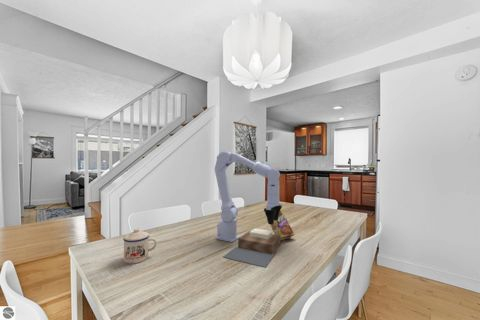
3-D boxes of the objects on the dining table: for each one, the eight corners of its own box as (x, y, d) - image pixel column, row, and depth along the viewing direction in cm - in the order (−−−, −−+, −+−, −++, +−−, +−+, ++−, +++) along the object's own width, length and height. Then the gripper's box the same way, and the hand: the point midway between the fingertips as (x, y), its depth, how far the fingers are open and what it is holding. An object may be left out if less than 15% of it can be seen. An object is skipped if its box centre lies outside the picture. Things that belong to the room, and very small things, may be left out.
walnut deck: (238, 247, 92) (238, 238, 92) (248, 238, 103) (249, 230, 103) (272, 254, 85) (272, 245, 85) (280, 244, 96) (280, 235, 96)
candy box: (282, 237, 97) (268, 209, 106) (277, 241, 100) (264, 213, 108) (295, 234, 102) (280, 207, 111) (290, 238, 104) (276, 211, 113)
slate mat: (223, 257, 82) (223, 256, 82) (235, 247, 92) (235, 246, 92) (265, 267, 74) (265, 266, 74) (274, 255, 84) (274, 254, 84)
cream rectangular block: (249, 236, 95) (249, 232, 95) (254, 232, 100) (254, 228, 100) (268, 239, 91) (268, 235, 91) (272, 235, 96) (272, 231, 96)
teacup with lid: (121, 266, 75) (121, 234, 75) (125, 255, 83) (125, 227, 83) (156, 260, 79) (156, 230, 79) (156, 251, 88) (157, 224, 88)
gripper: (277, 196, 90) (276, 227, 90) (285, 192, 103) (285, 219, 103) (262, 195, 93) (261, 225, 93) (272, 191, 106) (271, 217, 106)
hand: (273, 222), depth 98 cm, fingers open, 7 cm apart
